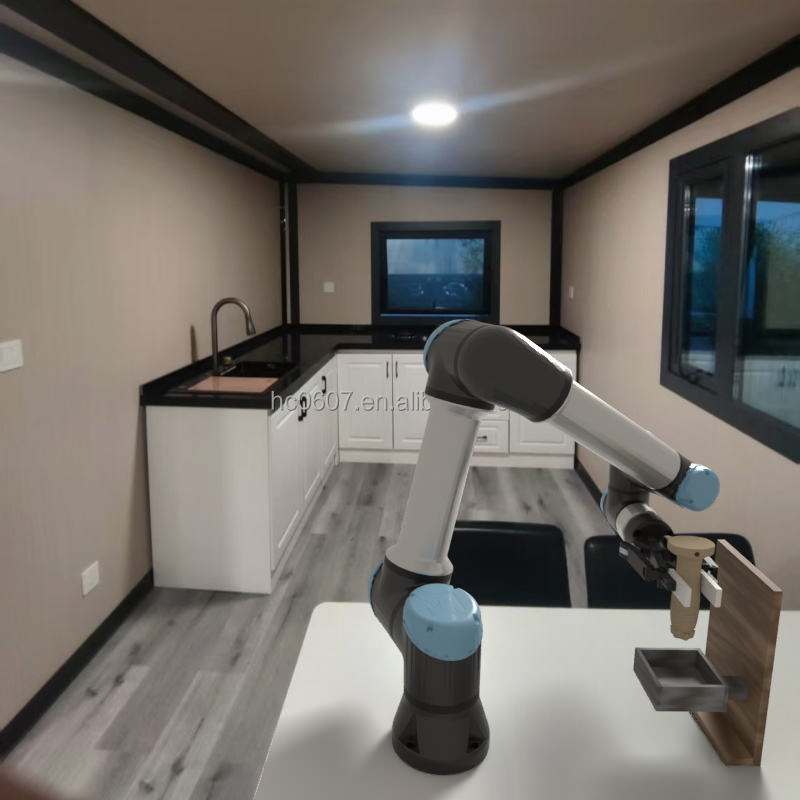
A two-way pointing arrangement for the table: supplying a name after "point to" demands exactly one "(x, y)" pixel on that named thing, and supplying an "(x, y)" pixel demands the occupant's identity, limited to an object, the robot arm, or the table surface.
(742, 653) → the bracket
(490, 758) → the table surface
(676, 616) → the handle
